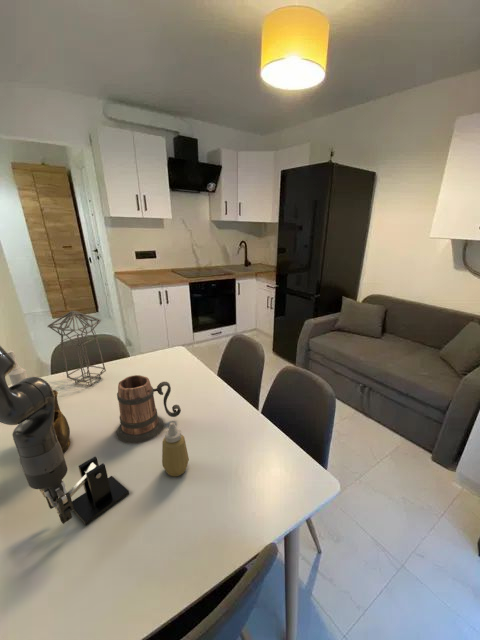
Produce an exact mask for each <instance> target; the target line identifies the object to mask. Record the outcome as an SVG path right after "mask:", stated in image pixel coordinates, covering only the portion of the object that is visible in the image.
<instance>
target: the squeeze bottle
mask: <svg viewBox="0 0 480 640" xmlns="http://www.w3.org/2000/svg"><path fill="white" fill-rule="evenodd" d="M161 443H162V444H161V445H162V449H161V452H162V453H161V464H162V465H161V466H162V467H163V469H164V470H165V472H166V473H167V474H168V476H171V477H179V476H181V475H183V474H184V473H185V472H186V469H187V467H188V464H189V461H190V459H189V457H190V456H189V453H188V448H187V443H186V438H185V436H184V435H183V434H182V430H180V429H179V428H177V427H176V424H175V422H174V421H172V422H171V421H170V422H169V426H168V429H167V431H166V432H165V433H164V438H163V439H162V442H161Z"/></svg>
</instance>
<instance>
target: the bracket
mask: <svg viewBox="0 0 480 640" xmlns="http://www.w3.org/2000/svg"><path fill="white" fill-rule="evenodd" d="M92 462H93V463H95V464H96V465H97V467H96V468H94V469H92V470H91V471H89V472H87V473H85V472H84V470H85V469H86V468H87V467H88V466H89V465H90V464H91V463H92ZM77 467H78V471H79V474H80V479H81V478H82V477H83V476H84V475H85V474H86V476H87V479H88V480H87V481H86V482H85V483H84V484H83V485H82V486H83V489H84V493H82V494H81V495H79V496H78V497H76V498H75V499H73V500H72V504H73V507H74V510H72V511H73V513H74V514H75V515H76V516H77V517H78V519H80V520H81V522H82V523H83V524H84V525H85V526H87V525H89V524H90V523H92V522H93V521H95V520H96V519H97V518H98V517H100V516H101V515H102V514H104V513H105V512H107V511H108V510H109V509H111V508H112V507H113V506H115V505H116V504H118V503H119V502H120V501H122V500H123V499H124V498H126V497H127V496H128V495H130V491H129V489H127V488H126V487H125V486H124V485H123V484H122V483H121V482H120V481H118V480H117V479H116V478H115V477H114V476H112V475H111V476H109V477H108V471H107V467H106V464H105V463H103V462H102V463H101V464H99V461H98V457H96V456H93V457H91V458H90V459H88V460H86V461H84V462H83V463H81V464H79V465H78V466H77Z"/></svg>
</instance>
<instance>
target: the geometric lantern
mask: <svg viewBox="0 0 480 640" xmlns="http://www.w3.org/2000/svg"><path fill="white" fill-rule="evenodd" d="M62 319H63V320H62ZM61 320H62V321H61ZM59 321H61V322H59ZM78 321H79V322H80V324H81V326H82V327H79V324H78V323H79V322H78ZM94 321H95V322H94ZM101 321H102V319H100V318H97V317H94V316H92V315H89V314H86V313H83V312H80V311H77V310H70V311H69V312H67V313H66V314H64V315H62V316H61V317H59V318H58V319H56V320H55V321H53V322H51V323H49V324H48V325H47V328H49V329H50V330H52V331H54V332H55V333H57V334H58V335H59V336H60V342H59V343H60V347H61V352H62V357H63V362H64V363H63V364H64V368H65V373H66V378H67V379H69V380H72V381H74V384H75V385H78V386H79V385H80V386H84V387H85V386H86V387H90V386H92V385H94V384H96V383H97V382H99V381H101V380H102V377H101V376H102V375H103V374H104V373H106V372H107V369H106V366H105V363H104V359H103V354H102V351H101V348H100V343H99V340H98V336H97V335H98V334H97V333H96V331H95V328H96V327H97V326H98V325H99V324H100V323H101ZM57 322H58V323H57ZM75 322H76V326H77V331H78V332H80V334H79V333H78V332H77V331H76V326H75ZM90 323H91V324H90ZM64 324H65V325H64ZM71 324H72V327H70V326H71ZM58 325H59V326H58ZM63 325H64V327H63ZM88 328H90V330H89V331H88V330H87V329H88ZM56 329H57V330H56ZM66 331H67V333H65V332H66ZM73 332H74V333H75V334H74V335H71V334H72V333H73ZM90 333H92V334H90ZM69 335H71V336H69ZM64 336H66V338H64ZM79 336H81V340H82V341H81V343H80V337H79ZM74 337H76V338H77V343H76V342H75V341H74V340H73V339H72V338H74ZM86 337H93V338H91V339H90V340H87V341H85V339H86ZM66 340H70V342H71V343H67V342H64V341H66ZM94 340H95V344H96V347H97V350H98V354H99V357H100V360H101V363H102V367H101V366H96V365H90V360H89V356H88V352H87V347H86V344H88V343H90V342H92V341H94ZM65 345H71V346H75V349H76V352H77V358H78V362H79V366H80V367H79V368H77V369H75V370H73V371H72V372H70V373H69V371H68V363H67V358H66V352H65V351H66V349H65ZM84 362H85V365H84ZM90 367H91V368H95V369H96V368H97V369H102V370H101V371H100V372H99V373H96V372H90V369H89V368H90ZM85 368H86V370H87V371H85ZM78 371H80V372H81V375H80V376H78V377H71V376H70V375H72V374H74V373H76V372H78ZM93 375H94V376H93ZM81 377H82V378H81ZM79 378H81V379H79ZM85 378H88V379H85ZM96 379H97V380H96ZM95 380H96V381H95ZM93 381H94V382H93ZM79 382H80V383H79ZM92 382H93V383H92ZM82 383H86V384H82Z"/></svg>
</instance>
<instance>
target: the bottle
mask: <svg viewBox="0 0 480 640" xmlns="http://www.w3.org/2000/svg"><path fill="white" fill-rule="evenodd" d="M6 352H7V354H9V356H10V357H11V358H12V359H13V360H14V362H15V368H14V369H13V370H12V371H11V372H10V373H9V374H7V376H8V378H9V380H10V383H11V386H13V385H14V384H16V383H18V382H20V381H22V380H23V379H26V378H28V375H27V372H26V368H22V367H21V366H20V365H19V363H18V359H17V357H16V354H15V350H7V351H6Z"/></svg>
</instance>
